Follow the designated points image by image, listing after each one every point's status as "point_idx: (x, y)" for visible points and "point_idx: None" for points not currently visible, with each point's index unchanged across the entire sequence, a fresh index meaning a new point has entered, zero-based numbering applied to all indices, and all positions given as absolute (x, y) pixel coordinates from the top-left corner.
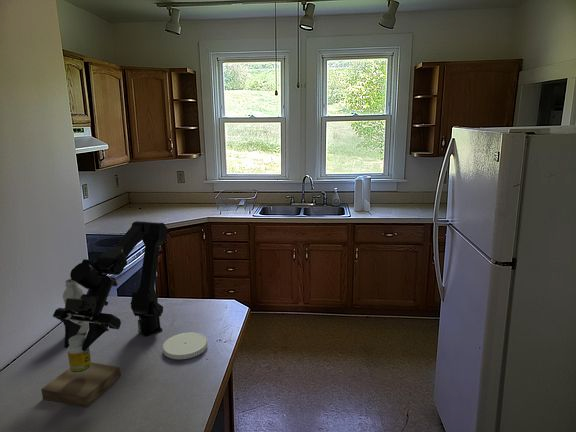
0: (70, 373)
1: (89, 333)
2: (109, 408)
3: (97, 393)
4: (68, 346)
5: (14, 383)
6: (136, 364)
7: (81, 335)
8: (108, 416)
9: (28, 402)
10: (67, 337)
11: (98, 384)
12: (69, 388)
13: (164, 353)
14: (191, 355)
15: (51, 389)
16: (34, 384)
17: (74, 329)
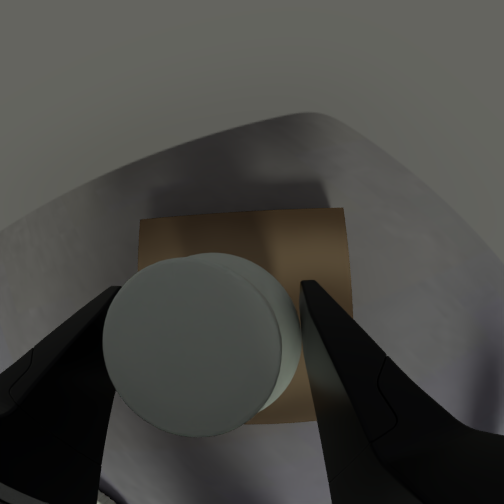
0: None
1: (15, 377)
2: (92, 248)
3: None
4: (301, 318)
5: (473, 257)
6: (160, 465)
7: (177, 419)
8: (81, 221)
9: (361, 195)
10: (326, 338)
11: None
12: (235, 243)
13: (110, 501)
14: None
15: (302, 217)
16: (425, 274)
17: (345, 481)
